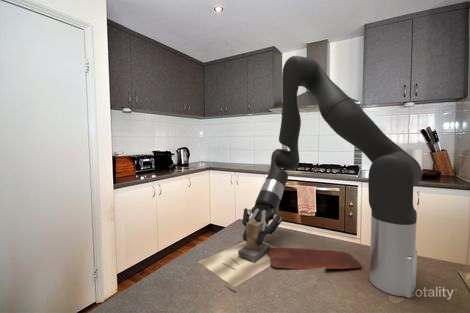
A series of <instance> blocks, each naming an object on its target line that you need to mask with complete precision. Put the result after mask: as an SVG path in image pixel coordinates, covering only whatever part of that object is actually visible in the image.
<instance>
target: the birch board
mask: <svg viewBox="0 0 470 313" xmlns="http://www.w3.org/2000/svg"><path fill="white" fill-rule="evenodd" d="M263 243H265V244H268V245H270V248H278V247H277V246H275V245H272V244H269V243H267V242H264V241H263ZM245 246H246V241H243V242H240V243H238V244H236V245H233V246H231V247H229V248H227V249H224V250H222V251H219V252H217V253H215V254H213V255H211V256H207V257H206V258H204V259H201V260H199V261H198V263H199V264H200V265H201V266H203V267H204V268H206V269H208V271H210V272H212V273H213V274H214V275H216V276H217V277H219V278H220V279H222V280H223V281H225V282H227V283H228V284H229V285H230V286H232V287H233V288H236V287H237V286H239V285H241V284H242V283H244V282H246V281H248V280H250V278H252V277H255V276H256V275H257V274H259V273H261V272H262V271H264V270H266V269H267V268H269V267H270V266H271V267H272V265H271V263H270V259H271V258H270V256H269V253H268V252H266V253H265V254H264V255H263V256H261V257H260V258H259V259H258V260H256V261H255V262H254V261H252V260H249V259H246V258H244V257H241V256H238V251H239V250H240V249H242V248H243V247H245ZM224 287H226V288H227V289H228V290H229V291H230V292H232V293H233V294H235V293H237V291H236V290H234V289H233V288H230V287H229V286H226V285H224Z"/></svg>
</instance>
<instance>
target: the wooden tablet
mask: <svg viewBox="0 0 470 313" xmlns="http://www.w3.org/2000/svg"><path fill="white" fill-rule="evenodd" d="M267 251H268V253H269V256H270V258H271V259H270V263H271V267H272V268H278V269H294V270H295V269H296V270H314V269H323V268H324V270H331V269H333V270H334V269H335V270H337V269H340V270H341V269H343V270H344V269H358V268H362V267H363V265H362V264H361V263H360V261H358V260H357V259H356V258H354V256H353V255H351V254H350V253H349V252H346V251H339V250H331V249H330V250H328V249H327V250H325V249H317V248H314V249H313V248H302V247H277V248H269V249H268V250H267Z"/></svg>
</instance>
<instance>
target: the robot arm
mask: <svg viewBox="0 0 470 313" xmlns="http://www.w3.org/2000/svg"><path fill="white" fill-rule="evenodd" d="M281 75H282V77H281V100H282V101H281V102H282V103H281V104H282V107H281V122H280V129H279V136H278V142H279V143H280V144H281V145H283V146H285V147H287V148H288V149H289V150H286V149H281V148H276V149H275V150H273V151H272V153H271V157H270V167H269V168H270V169H269V171H268V174H267V176H266V178H265V181H264V182H263V184H262V186H261V188H260V190H259V193H258V195H257V197H256V200H255V202H254V206H253V207H252V208H251V209H248V208H244V209H243V213H242V214H243V215H242V222H241V224H242V225H243V226H244V227H245V228H244V230H243V234H242V240H243V242H245V241H246V242H247V234H246V223H247V222H249V221H257V222H261V223H262V226H261V232H260V231H259V234H258V236H257V238H256V241H255V243H256V244H257V245H258V246H260V244H262V243H263V242H264V240H265V238H266V235H273V234H274V232H275V231H276V230H277V228H278V227H279V226H280V224H281V223H282V222H283V219H282V218H281V216H280V215H279V214H276V212H277V210H278V208H279V205H280V203H281V200H282V197H283V193H284V190H285V187H286V184H287V182H288V180H289V173H288V172H287V171H286V170H288V171H295V170H296V169H297V168H298V167H299V166H300V153H299V139H300V138H299V137H300V133H301V127H302V120H301V115H300V110H299V106H298V93H299V92H298V90H299V87H303V88H305V89H306V90H307V91H309V92H310V93H311V95H312V96H313V97H314V98H315V99H316V102H317V105H318V110H319V113H320V115H321V117H322V118H323V120H324V121H325V123H326V124H327V125H328V127H329V128H331V129H332V130H333V132H335V133H336V134H337V135H338V136H339V137H340V138H342V139H343V140H345V141H346V142H348V143H349V144H351V145H352V146H354V147H355V148H356V149H358V150H360V152H362V154H364V155H365V157H366V158H367V159H368V160H369V161H370V162H371V165H370V167H369V171H368V177H367V180H368V181H367V182H368V183H367V185H368V189H367V190H368V205H369V207H370V209H371V210H370V211H371V214H370V215H371V217H370V250H369V252H370V253H369V254H370V255H369V281H370V282H371V284H372V286H374V287H375V288H377V289H378V290H380V291H382V292H383V293H387V294H390V295H393V296H399V297H405V298H407V299H412V297H413V294H414V292H415V290H416V285H417V284H416V283H417V282H416V281H417V261H418V251H417V250H416V243H417V242H416V241H417V239H416V238H417V221H418V220H417V216H418V213H417V210H416V209H415V208H414V206H415V205H414V187H416V186H418V184H419V183H420V182H421V180H422V176H423V170H422V166H421V165H420V163H419V161H417V160H416V159H415V158H414V157H413V156H412V155H411V154H409V153H408V152H407V151H405V150H404V149H403V148H402V147H400V146H399V145H398V144H397V143H395V142H394V141H393V140H392V139H391V138H390V137H388V136H387V135H386V134H385V133H384V132H383V131H382V130H381V129H380V127H379V126H378V125H377V124H376V123H375V121H373V119H372V118H371V117H370V116H369V115H368V114H367V113H366V112H365V111H364V109H362V108H361V107H360V106H359V105H358V104H357V103H356V101H354V99H352V98H351V97H350V96H349V95H348V94H347V93H345V91H343V90H342V89H341V88H340V87H339V86H338V85H337V84H336V83H335V82H334V81H332V79H331V78H330V77H329V76H328V75H327V73H326V72H325V71H324V69H323V68H322V67H321V65H320V64H319V63H318V61H316V60H315V59H313V58H311V57H306V56H301V55H292V56H290V57H289V58H287V59H286V60H285V63H284V64H283V68H282V74H281Z"/></svg>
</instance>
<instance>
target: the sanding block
mask: <svg viewBox="0 0 470 313" xmlns="http://www.w3.org/2000/svg"><path fill="white" fill-rule="evenodd" d="M261 226H262V223H261V222H257V221H255V220H254V221H249V222H247V223H246V227H245V229H246V234H247V242H246V246H245V247H243V248H242V249H240V250H239V251H238V256H241V257H244V258H246V259H249V260H252V261H254V262H255V261H256V260H258V259H259V258H260V257H261V256H263V255H264V254H265V253H266V252H268V251H267V250H268V249H269V248H270V245H271V244H270V245H268V244H269V243H267V244H265V243H266V242H265V243H262V244H260V246H258V245H257V244H256V243H255V241H256V238H257V236H258V234H259V231H260V232H261Z"/></svg>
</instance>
